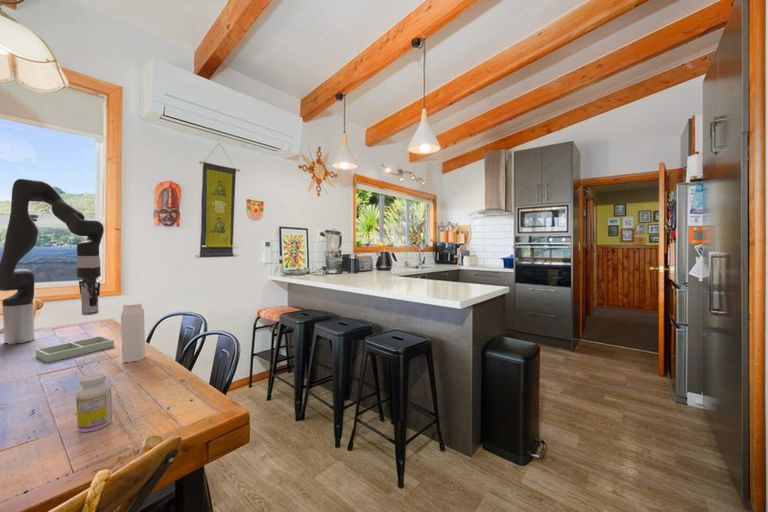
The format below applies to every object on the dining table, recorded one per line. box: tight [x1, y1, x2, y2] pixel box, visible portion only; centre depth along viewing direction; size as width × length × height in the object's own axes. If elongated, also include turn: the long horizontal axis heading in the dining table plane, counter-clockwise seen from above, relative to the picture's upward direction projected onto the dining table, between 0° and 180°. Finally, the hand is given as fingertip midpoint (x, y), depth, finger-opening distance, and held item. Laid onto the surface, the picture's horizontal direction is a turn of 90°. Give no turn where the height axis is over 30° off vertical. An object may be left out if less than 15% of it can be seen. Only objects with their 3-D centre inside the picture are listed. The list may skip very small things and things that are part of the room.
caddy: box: [35, 335, 115, 363], centre depth 135 cm, size 12×21×3 cm, turn 152°
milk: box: [120, 303, 146, 364], centre depth 127 cm, size 6×6×22 cm
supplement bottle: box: [75, 372, 113, 433], centre depth 82 cm, size 7×7×13 cm
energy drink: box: [80, 287, 99, 316], centre depth 139 cm, size 5×5×12 cm
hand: (90, 305), depth 139 cm, fingers closed on energy drink, 5 cm apart
